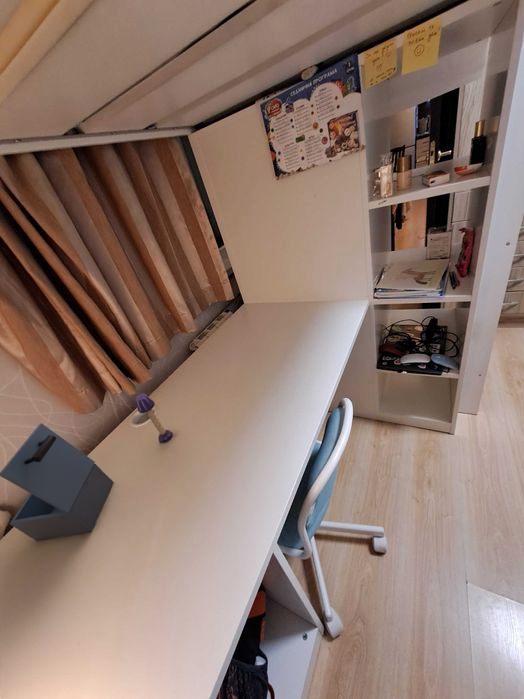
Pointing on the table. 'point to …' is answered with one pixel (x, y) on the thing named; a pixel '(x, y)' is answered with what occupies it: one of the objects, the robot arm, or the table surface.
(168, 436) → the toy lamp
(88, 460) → the lid
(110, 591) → the table surface
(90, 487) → the blue storage chest
